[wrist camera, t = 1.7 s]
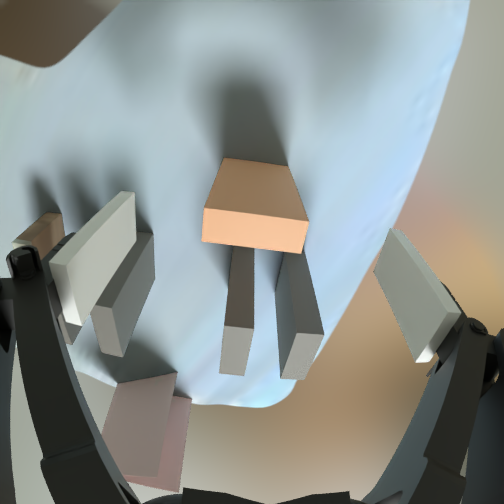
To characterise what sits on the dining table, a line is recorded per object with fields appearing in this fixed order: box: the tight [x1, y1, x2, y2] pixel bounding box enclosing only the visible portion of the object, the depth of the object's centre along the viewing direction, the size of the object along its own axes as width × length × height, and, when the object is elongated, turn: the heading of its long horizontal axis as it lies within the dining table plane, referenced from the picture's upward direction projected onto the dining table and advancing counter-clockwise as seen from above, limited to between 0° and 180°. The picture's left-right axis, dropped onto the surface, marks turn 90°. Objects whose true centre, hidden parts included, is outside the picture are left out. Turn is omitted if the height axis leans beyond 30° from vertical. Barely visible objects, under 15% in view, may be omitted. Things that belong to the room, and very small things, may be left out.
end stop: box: [12, 212, 65, 260], centre depth 24 cm, size 2×7×6 cm, turn 172°
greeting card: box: [101, 372, 192, 492], centre depth 32 cm, size 11×7×15 cm, turn 80°
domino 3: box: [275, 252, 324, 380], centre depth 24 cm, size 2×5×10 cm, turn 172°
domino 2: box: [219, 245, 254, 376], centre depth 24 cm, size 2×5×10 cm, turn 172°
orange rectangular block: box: [202, 158, 309, 254], centre depth 19 cm, size 2×5×10 cm, turn 82°
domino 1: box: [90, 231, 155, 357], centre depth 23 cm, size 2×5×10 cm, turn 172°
